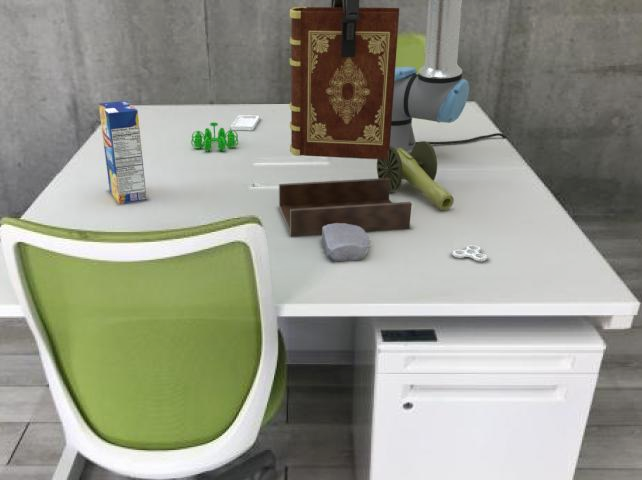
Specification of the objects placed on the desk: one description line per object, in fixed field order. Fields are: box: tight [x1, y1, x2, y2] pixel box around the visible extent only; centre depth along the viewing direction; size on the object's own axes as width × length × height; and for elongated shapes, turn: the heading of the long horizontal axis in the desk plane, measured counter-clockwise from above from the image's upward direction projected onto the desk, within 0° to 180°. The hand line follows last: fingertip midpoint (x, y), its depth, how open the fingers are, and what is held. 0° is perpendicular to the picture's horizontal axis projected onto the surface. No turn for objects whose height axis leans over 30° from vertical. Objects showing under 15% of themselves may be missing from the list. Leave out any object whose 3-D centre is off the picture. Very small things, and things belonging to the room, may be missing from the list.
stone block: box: [321, 223, 371, 262], centre depth 152 cm, size 12×5×10 cm
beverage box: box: [98, 100, 148, 205], centre depth 178 cm, size 7×11×22 cm, turn 24°
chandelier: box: [190, 122, 239, 153], centre depth 219 cm, size 15×15×7 cm
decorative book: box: [289, 6, 400, 160], centre depth 157 cm, size 22×8×30 cm, turn 79°
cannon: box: [376, 140, 455, 211], centre depth 179 cm, size 25×12×11 cm, turn 23°
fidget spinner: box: [451, 244, 488, 262], centre depth 150 cm, size 7×6×1 cm
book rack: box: [278, 177, 413, 237], centre depth 167 cm, size 27×18×6 cm, turn 98°
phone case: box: [230, 114, 261, 131], centre depth 242 cm, size 7×1×15 cm
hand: (342, 52), depth 154 cm, fingers closed on decorative book, 9 cm apart
